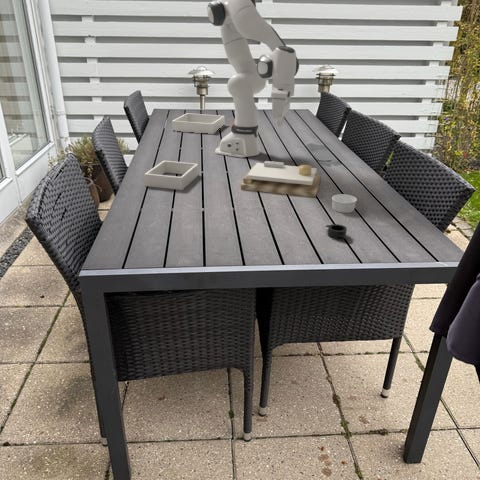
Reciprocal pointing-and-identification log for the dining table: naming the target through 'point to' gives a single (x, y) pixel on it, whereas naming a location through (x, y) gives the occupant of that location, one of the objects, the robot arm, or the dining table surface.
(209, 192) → the dining table surface
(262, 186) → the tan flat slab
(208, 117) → the white square tray
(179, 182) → the frame
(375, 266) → the dining table surface
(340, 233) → the duct tape
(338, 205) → the ramekin
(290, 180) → the plate
